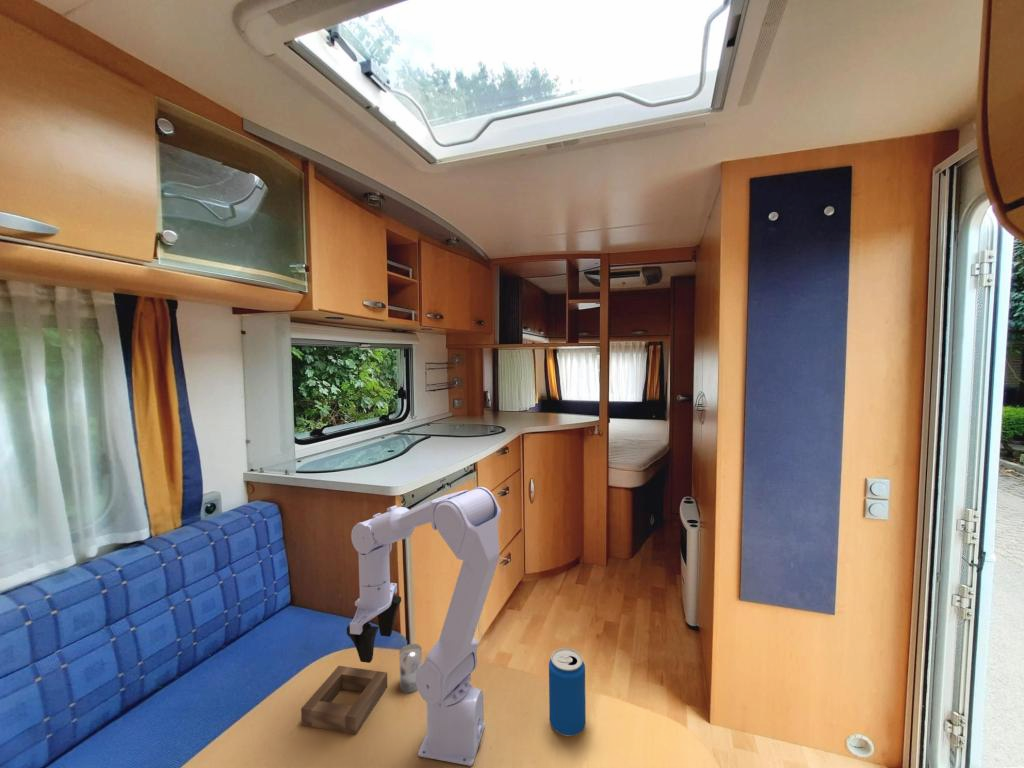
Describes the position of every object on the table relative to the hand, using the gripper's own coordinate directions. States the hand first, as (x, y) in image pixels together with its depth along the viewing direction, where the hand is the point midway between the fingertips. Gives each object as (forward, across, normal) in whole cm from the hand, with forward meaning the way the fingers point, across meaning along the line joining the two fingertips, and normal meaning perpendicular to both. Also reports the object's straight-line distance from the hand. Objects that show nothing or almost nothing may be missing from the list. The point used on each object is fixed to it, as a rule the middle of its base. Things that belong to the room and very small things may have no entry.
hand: (376, 647), depth 80 cm
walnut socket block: (+10, +3, -5) cm, 11 cm away
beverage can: (+10, 0, +37) cm, 39 cm away
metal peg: (+10, -4, +5) cm, 12 cm away
